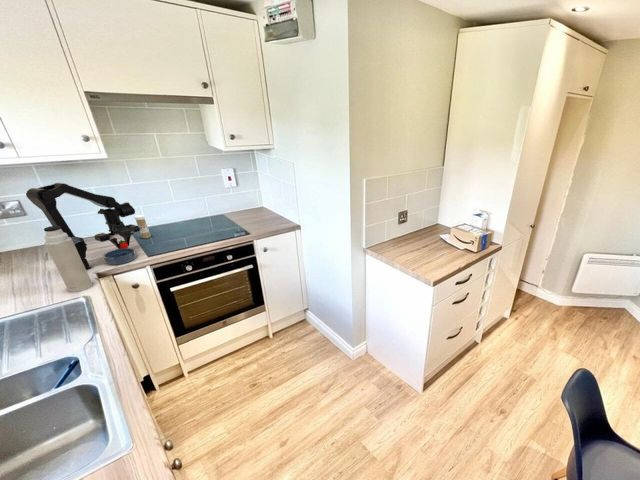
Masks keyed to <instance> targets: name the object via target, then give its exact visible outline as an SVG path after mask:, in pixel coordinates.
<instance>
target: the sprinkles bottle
mask: <svg viewBox="0 0 640 480" xmlns="http://www.w3.org/2000/svg"><path fill="white" fill-rule="evenodd" d="M134 220H135V221H136V224H137V225H136V226H139V227H140V230H141V231H139V233H140V237H141V239H149V238H151V233H150V230H149V227H148V224H147V222H146V217H145V215H144V214H137V215H134Z"/></svg>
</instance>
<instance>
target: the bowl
mask: <svg viewBox="0 0 640 480" xmlns="http://www.w3.org/2000/svg"><path fill="white" fill-rule="evenodd" d="M102 257H103V259H104V262H105V263H106V264H107V265H112V266H113V265H114V266H115V265H123V264H126V263H130V262H131V261H133V260H135V259H136V258H137V255H136V252H135V249H134V248H129V247H128V248H124V249H118V248H117V249H113V250H110V251H107V252H105V253H104V254H103V256H102Z"/></svg>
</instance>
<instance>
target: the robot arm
mask: <svg viewBox="0 0 640 480" xmlns="http://www.w3.org/2000/svg"><path fill="white" fill-rule="evenodd" d="M64 194H66V195H70V196H71V197H72V196H73V197H75V198H79V199H81V200H86V201H89V202H90V203H92V204H94V205H96V206H98V207H100V208H99V209H98V211H97V214H99V215H103V217H104V220H105V225H107V227H108V232H109V233H105V232H100V233H95V234H94V236H93V237H94V240H95V241H97V242H101V243H103V242H107V241H109V242H110V243H111V244H113V245H114V246H115V247H116V248H117V249H120V246H119V241H118V238H117V237H116V236H119V237H121V238H123V241H125V242H126V243H127V244H128V247H130V242H131V241H130V240H131V237H132V236H133V235H134V233H138V232H140V231H141V230H140V227H139V226H138V225H136V224H133V223H130V224H126V225H125V223H124V221H122V220H121V218H127V217H129V216H132V215H135V214H136V210H135V209H136V208H134V207H133V206H132V205H131V204H130V202H123V203H119V202H118V201H116V198H115V197H113V196H108V195H102V194H96V193H93V192H90V191H88V190H84V189H81V188H78V187H75V186H72V185H70V184H67V183H64V182H55V183H52V184H49V185H43V186H40V187H31V188H29V189H27V191H26V193H25V196H26V198H27V199H28V200H29V201H30V202H31V203H32V204H33V205H34V206H36V207H37V208H38V209H39V210H41V211H42V213H43V214H44V216H45V217H46V219H47V220H48V222H49V223H50V225H51V226H61V229H62V231H63V232H64V233H67V234H68V237H70V238H71V239H72V241H73V243H74V245H75V247H76V249H77V251H78V254H79V256H80V258H81V260H82V262H83V264H84V267H85V269H86V271H88V270H90V269H92V267H91V266H90V264H89V261H88V259H87V250H88V247H87V246H88V244H87V243H86V241H85V240H84V237H80V236H75V234H74V233H73V231H72V230H71V228H70V227H69V225H68V223H67V222H66V220H65V219H64V217H63V216H62V214H61V213H60V211H59V210H58V208H57V198H59V197H61V196H62V195H64Z"/></svg>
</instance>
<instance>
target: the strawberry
mask: <svg viewBox="0 0 640 480" xmlns="http://www.w3.org/2000/svg"><path fill="white" fill-rule="evenodd" d="M118 244H119V246H120V249H124V248H129V246H128V244H127V243H126V242H125V240H122V239H120V240H119V241H118Z"/></svg>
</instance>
